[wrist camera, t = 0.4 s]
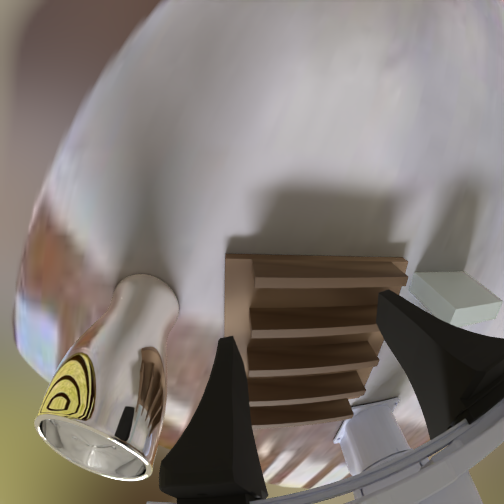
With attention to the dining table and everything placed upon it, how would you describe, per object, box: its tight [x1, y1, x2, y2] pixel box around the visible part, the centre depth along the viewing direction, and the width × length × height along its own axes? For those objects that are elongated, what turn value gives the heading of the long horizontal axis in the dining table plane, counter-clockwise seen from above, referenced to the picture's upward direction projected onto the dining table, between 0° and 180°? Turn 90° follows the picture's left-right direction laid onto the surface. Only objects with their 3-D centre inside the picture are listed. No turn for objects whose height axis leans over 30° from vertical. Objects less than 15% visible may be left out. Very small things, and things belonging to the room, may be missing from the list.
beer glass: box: [34, 274, 179, 481], centre depth 16 cm, size 7×7×15 cm
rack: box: [224, 254, 408, 429], centre depth 24 cm, size 18×16×4 cm
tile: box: [409, 271, 503, 327], centre depth 22 cm, size 2×8×7 cm, turn 87°
